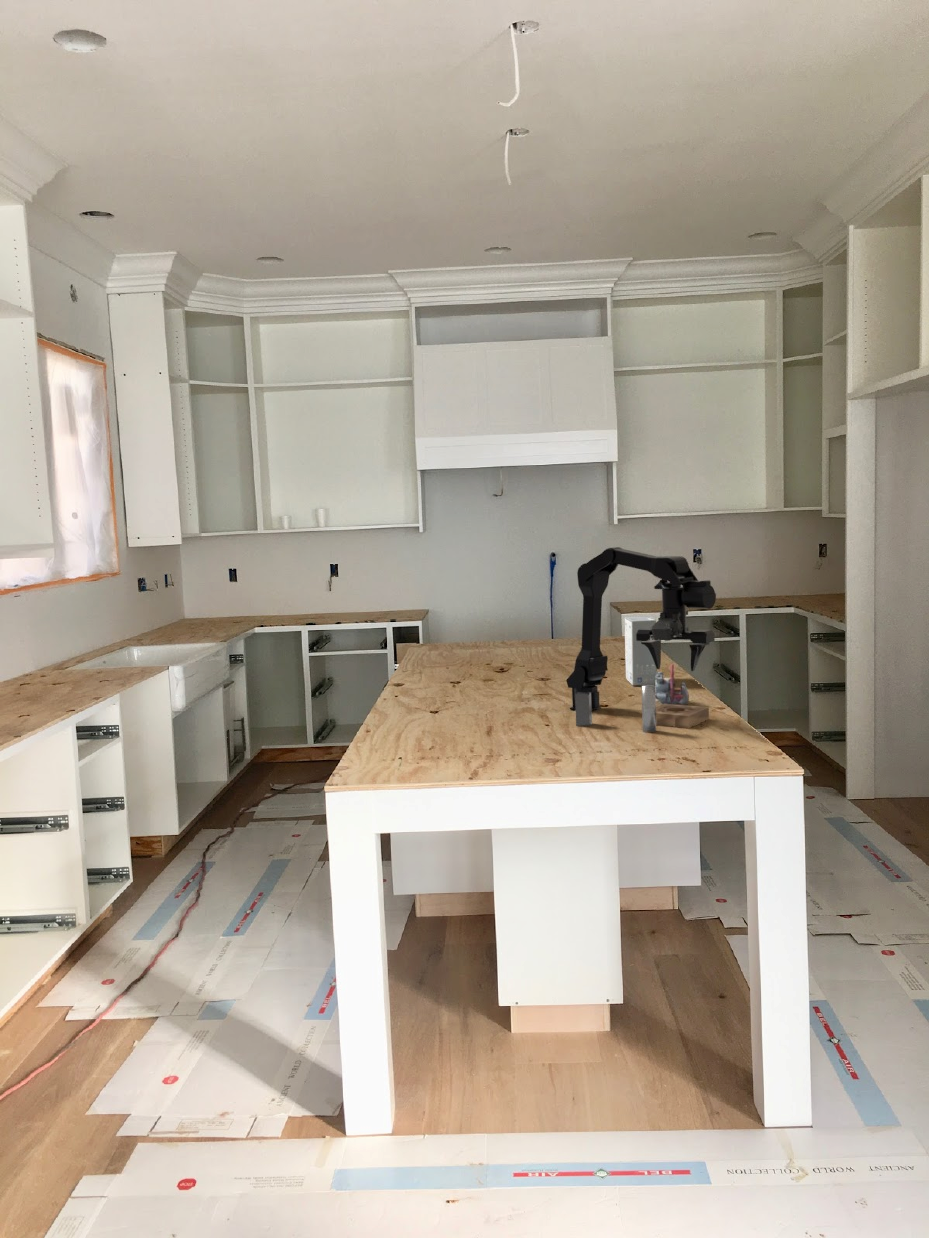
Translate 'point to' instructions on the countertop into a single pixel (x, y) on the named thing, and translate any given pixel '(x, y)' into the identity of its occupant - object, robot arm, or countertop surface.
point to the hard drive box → (638, 653)
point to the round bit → (648, 708)
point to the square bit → (583, 709)
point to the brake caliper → (670, 690)
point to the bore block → (680, 715)
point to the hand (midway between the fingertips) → (675, 669)
